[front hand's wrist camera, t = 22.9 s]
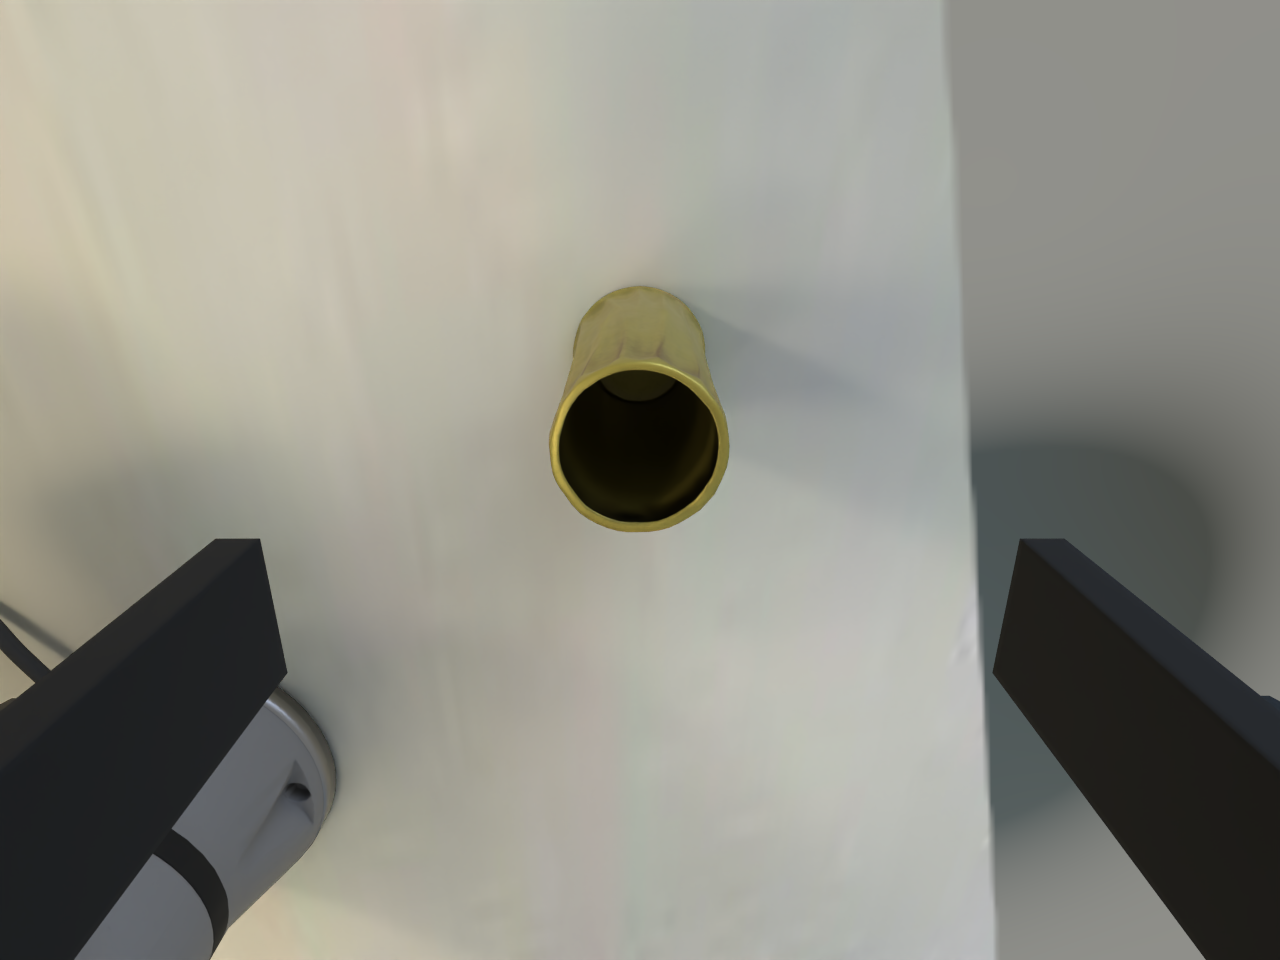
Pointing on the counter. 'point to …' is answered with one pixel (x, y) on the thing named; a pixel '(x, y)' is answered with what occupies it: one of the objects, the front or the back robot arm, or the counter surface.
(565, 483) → the olive drinking cup
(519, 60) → the counter surface
